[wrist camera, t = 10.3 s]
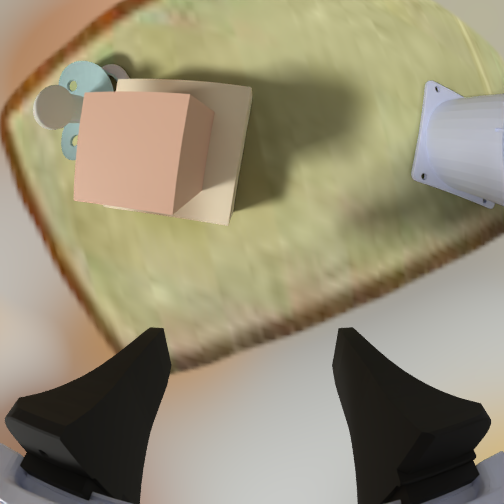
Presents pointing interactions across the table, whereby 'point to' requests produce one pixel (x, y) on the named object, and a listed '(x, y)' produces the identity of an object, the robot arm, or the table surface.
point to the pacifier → (72, 99)
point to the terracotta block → (141, 150)
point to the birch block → (210, 143)
